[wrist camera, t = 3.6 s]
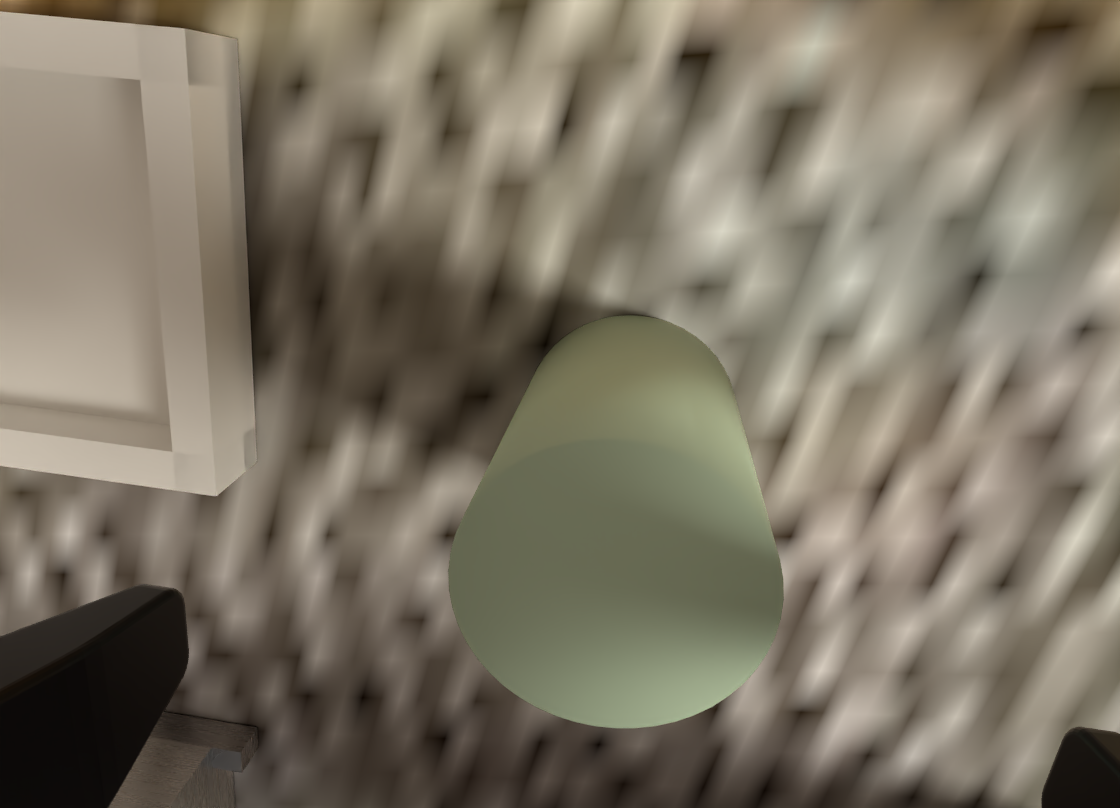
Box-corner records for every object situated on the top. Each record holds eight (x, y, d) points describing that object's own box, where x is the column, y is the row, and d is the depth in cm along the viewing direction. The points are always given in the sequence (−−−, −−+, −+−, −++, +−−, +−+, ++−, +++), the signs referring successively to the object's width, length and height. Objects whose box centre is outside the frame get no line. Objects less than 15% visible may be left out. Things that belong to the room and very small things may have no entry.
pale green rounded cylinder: (753, 329, 14) (815, 463, 9) (717, 524, 16) (751, 751, 10) (534, 303, 14) (456, 417, 9) (518, 496, 16) (442, 702, 10)
